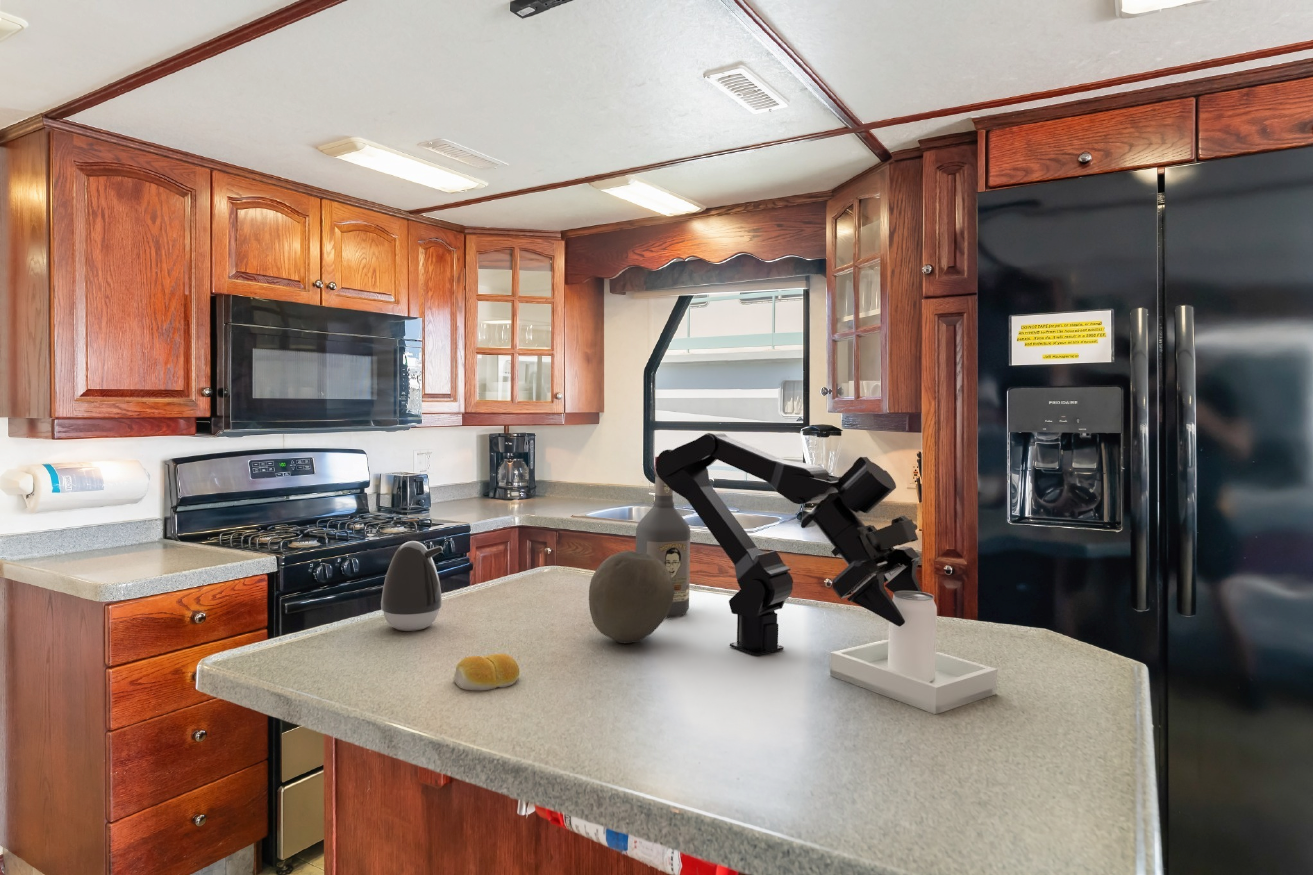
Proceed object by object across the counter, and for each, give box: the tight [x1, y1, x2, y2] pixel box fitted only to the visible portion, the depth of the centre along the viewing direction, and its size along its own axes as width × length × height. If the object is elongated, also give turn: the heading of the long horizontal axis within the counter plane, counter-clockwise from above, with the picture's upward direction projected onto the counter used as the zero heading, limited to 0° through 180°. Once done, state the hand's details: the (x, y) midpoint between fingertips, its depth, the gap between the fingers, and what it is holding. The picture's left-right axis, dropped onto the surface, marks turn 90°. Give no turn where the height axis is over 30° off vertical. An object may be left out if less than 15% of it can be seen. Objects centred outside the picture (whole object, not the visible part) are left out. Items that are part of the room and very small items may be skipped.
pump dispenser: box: [380, 540, 444, 632], centre depth 140 cm, size 10×10×15 cm
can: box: [888, 591, 938, 683], centre depth 114 cm, size 6×6×12 cm
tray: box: [829, 638, 998, 715], centre depth 115 cm, size 18×14×4 cm
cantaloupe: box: [588, 550, 674, 644], centre depth 134 cm, size 14×14×15 cm
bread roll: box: [452, 653, 521, 691], centre depth 113 cm, size 8×9×4 cm
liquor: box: [635, 456, 691, 618], centre depth 154 cm, size 9×9×30 cm
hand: (915, 618), depth 114 cm, fingers open, 9 cm apart
